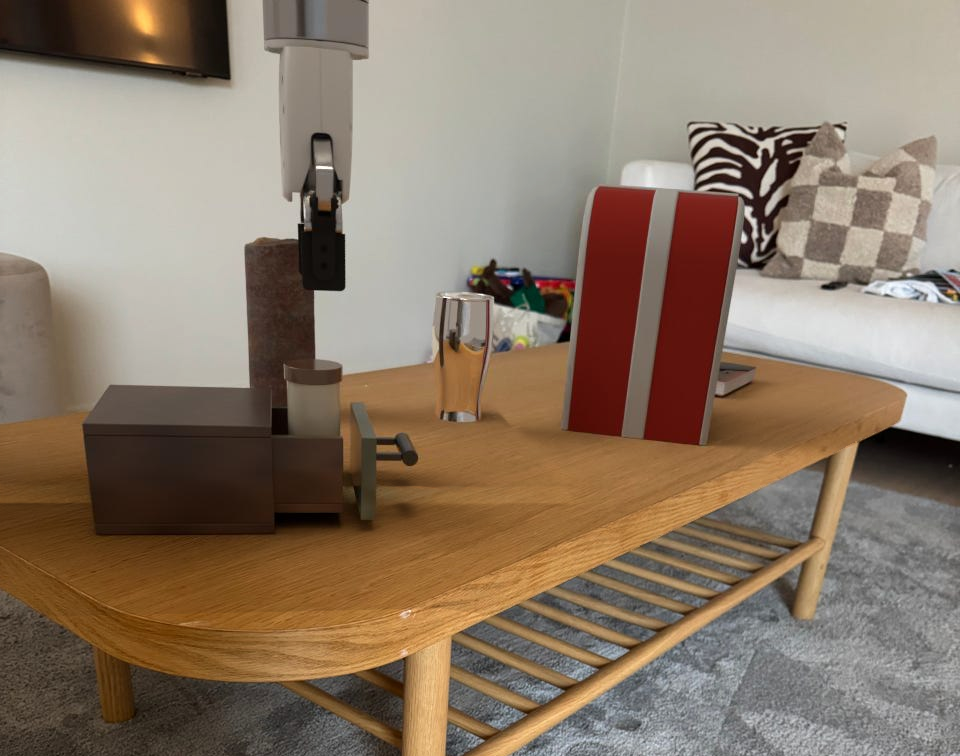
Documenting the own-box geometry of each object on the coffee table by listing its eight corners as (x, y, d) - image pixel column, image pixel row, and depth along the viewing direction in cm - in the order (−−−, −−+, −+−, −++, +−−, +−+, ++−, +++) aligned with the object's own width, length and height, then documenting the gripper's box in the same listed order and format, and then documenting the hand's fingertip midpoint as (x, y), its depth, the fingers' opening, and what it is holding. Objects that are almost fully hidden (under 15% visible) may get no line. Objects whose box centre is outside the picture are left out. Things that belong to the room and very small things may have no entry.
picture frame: (753, 382, 152) (627, 362, 161) (756, 366, 151) (629, 347, 160) (722, 398, 139) (587, 375, 148) (725, 381, 138) (588, 359, 147)
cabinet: (274, 482, 90) (271, 388, 86) (274, 534, 78) (271, 426, 74) (119, 482, 87) (109, 384, 83) (95, 535, 75) (81, 423, 71)
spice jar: (287, 492, 81) (284, 369, 77) (286, 475, 85) (283, 358, 81) (344, 492, 82) (344, 370, 77) (340, 475, 86) (340, 359, 82)
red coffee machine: (575, 402, 130) (598, 183, 118) (706, 416, 128) (743, 193, 116) (559, 429, 116) (584, 182, 104) (707, 446, 113) (750, 195, 101)
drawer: (403, 475, 91) (405, 403, 88) (421, 519, 80) (425, 438, 77) (225, 474, 88) (221, 399, 85) (218, 520, 77) (213, 435, 74)
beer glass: (418, 431, 111) (423, 294, 104) (442, 419, 117) (448, 289, 110) (473, 440, 109) (482, 301, 102) (495, 428, 114) (505, 295, 108)
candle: (295, 439, 104) (291, 241, 95) (237, 429, 106) (227, 234, 97) (328, 424, 111) (327, 238, 102) (273, 415, 113) (267, 232, 104)
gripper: (264, 39, 76) (272, 269, 83) (262, 10, 61) (273, 295, 68) (359, 47, 77) (359, 272, 85) (380, 21, 62) (378, 298, 70)
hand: (321, 282), depth 77 cm, fingers open, 9 cm apart
